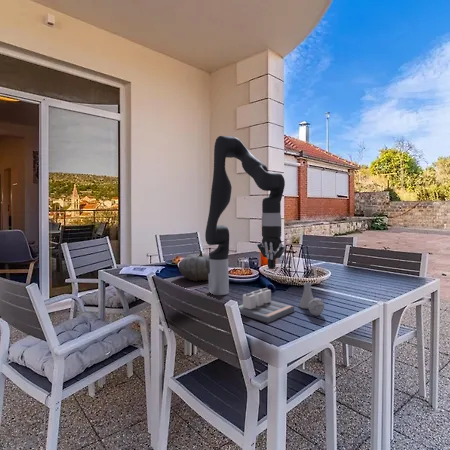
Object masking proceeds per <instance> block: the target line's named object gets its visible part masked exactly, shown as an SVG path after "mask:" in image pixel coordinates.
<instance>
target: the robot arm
mask: <svg viewBox="0 0 450 450" xmlns="http://www.w3.org/2000/svg"><path fill="white" fill-rule="evenodd" d="M213 150H214V151H213V172H212V173H213V174H212V184H211V189H210V190H211V191H210V201H209V202H210V203H209V211H208V216H207V217H208V218H207V222H206V227H205V235H204V237H205V242H206V244H207V245H209V246H216V245H217V248H215V249H213V251H210V252H209V255H208V256H209V264H210V273H209V274H208V278H209V280H208V293H209V292H210V293H211V294H210V293H209V294H210V295H212V294H213V295H212V296H225V295H228V294H229V293H230V288H229V287H230V284H229V283H230V280H229V278H230V277H229V253H230V231H229V227H228V226H226V225H224V224H222V225H218V221H219V219H220V217H221V215H222V213H224V211H225V210H226V208H227V207H228V205H229V204H230V202H231V196H232V190H233V189H232V184H231V181H230V178H229V176H228V174H227V170H226V158H227V159H229V158H231V159H232V158H234V159H237V160H239V161H240V162H241V167H242V169H243V171H244V172H245V173H246V174H247V175H249V176H250V177H251V178H252V179H253V181H254V182H255V184H256V186H257V187H258V188H259V190H262V191H264V192H269V195H268V196H267V197H264V198H263V199H262V204H261V210H262V213H261V214H262V215H261V237H262V238H261V239H262V240H261V242H260V243H258V244H257V248H258V249H259V251H260V253H261V255H262V257H263V258H266V259H267V268H268V269H269V270H275V268H276V264H277V263H276V261H277V260H276V259H279V258H281V257H282V255H283V254H284V252H285V251H286V250H287V246H286V245H284V244H282V238H281V237H282V215H281V214H282V213H281V207H282V206H281V205H282V204H281V201H282V198H283V194H284V190H285V185H286V181H285V178H284V175H282V173H281V172H270V171H268V167H267V165H265V163H264V162H262V161H261V160H259V159H258V158H257V157H255V155H254V154H252V153H251V151H250V150H249V149H248V148H247V147H246V146H245V145H244V143H243V142H242V141H241V139H239V138H238V137H237V136H231V135H230V136H228V135H219V136H217V137H216V139H215V142H214V149H213Z"/></svg>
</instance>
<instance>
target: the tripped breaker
mask: <svg viewBox="0 0 450 450" xmlns="http://www.w3.org/2000/svg"><path fill="white" fill-rule="evenodd" d="M250 293H252V294H253V295H256V306H261V305H264V300H263V292H260V289H257V290H254V291H251V292H250Z"/></svg>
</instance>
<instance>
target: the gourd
mask: <svg viewBox="0 0 450 450" xmlns="http://www.w3.org/2000/svg"><path fill="white" fill-rule="evenodd" d="M178 269H179V272H180V274H181V275H182V276H184V278H185V279H188V280H190V281H192V280H193V282H199V281H201V280H203V281H209V278H208V274H209V273H210V264H209V255H203V251H202V250H200V253H199V254H195V253H190V254H188V255H186V256H185V257H183V258H182V259H181V260H180V262H179V263H178ZM198 280H199V281H198Z"/></svg>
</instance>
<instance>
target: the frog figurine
mask: <svg viewBox="0 0 450 450" xmlns="http://www.w3.org/2000/svg"><path fill="white" fill-rule="evenodd" d="M313 298H314V299H313V300H311V301H310V302H309V304H308V308H309V309H308V310H309V313H310V314H311V315H312V316H315V317H318V316H321V314H323V312H324V310H325V303H324V302H323V300H322V299H321V298H318V297H313Z"/></svg>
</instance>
